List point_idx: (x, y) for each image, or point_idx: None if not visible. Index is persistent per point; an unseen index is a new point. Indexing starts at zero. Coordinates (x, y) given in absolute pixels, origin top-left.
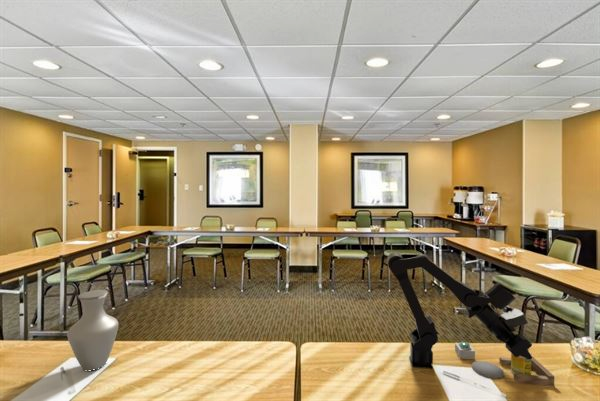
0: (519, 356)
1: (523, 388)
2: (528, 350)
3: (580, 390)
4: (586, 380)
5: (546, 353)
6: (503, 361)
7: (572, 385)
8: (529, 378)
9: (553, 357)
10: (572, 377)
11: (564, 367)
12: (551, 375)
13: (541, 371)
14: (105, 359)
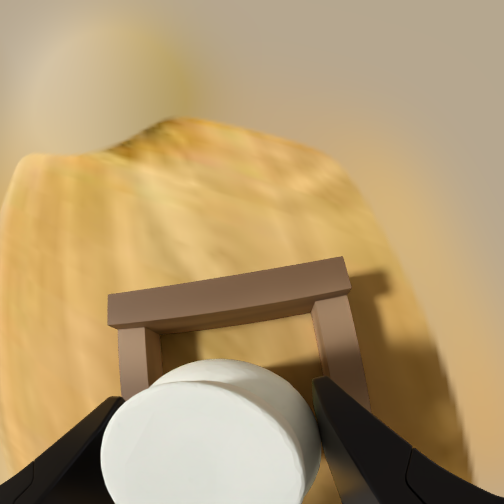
0: (307, 488)
1: (414, 442)
2: (271, 405)
3: (319, 183)
4: (222, 140)
5: (43, 210)
6: None
7: (287, 196)
8: (369, 408)
9: (67, 195)
10: (210, 174)
11: (133, 179)
12: (339, 270)
13: (266, 309)
14: None
